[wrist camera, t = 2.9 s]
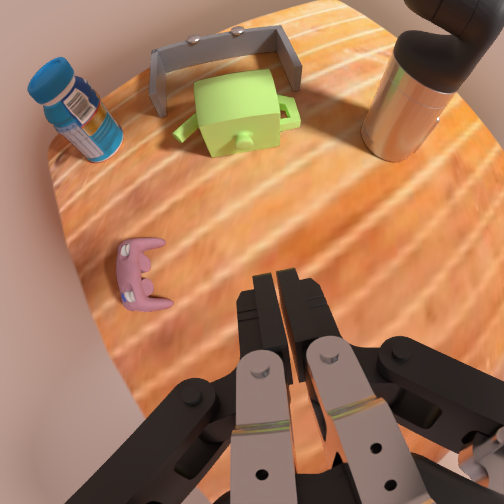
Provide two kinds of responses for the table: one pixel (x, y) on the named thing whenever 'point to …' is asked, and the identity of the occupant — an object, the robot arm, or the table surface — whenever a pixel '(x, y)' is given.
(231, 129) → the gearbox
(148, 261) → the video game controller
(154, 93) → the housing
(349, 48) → the table surface
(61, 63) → the beverage bottle
